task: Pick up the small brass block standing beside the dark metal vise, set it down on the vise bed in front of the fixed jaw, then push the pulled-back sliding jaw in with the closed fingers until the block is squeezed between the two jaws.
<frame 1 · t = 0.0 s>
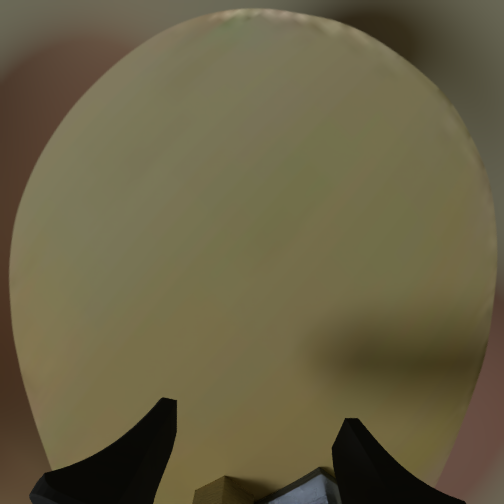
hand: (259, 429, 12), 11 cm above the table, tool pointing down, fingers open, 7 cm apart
brass block: (224, 492, 24), on the table
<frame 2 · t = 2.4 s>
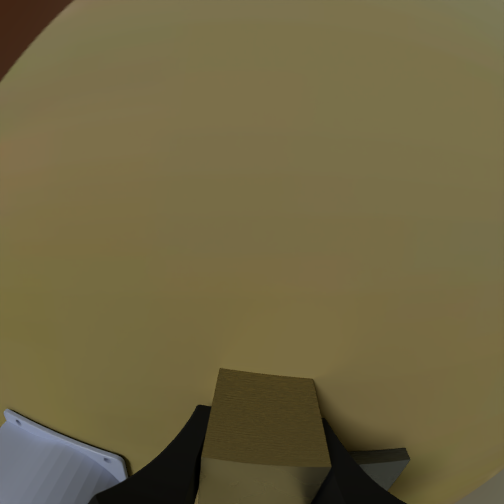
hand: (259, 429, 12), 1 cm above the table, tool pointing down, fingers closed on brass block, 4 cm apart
brass block: (259, 407, 13), on the table, touching gripper
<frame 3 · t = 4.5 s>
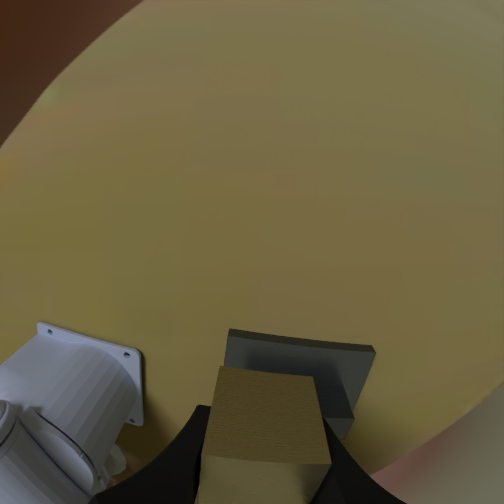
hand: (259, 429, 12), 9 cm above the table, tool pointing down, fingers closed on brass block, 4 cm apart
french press: (89, 451, 25), on the table
vise: (280, 422, 22), on the table
brass block: (259, 405, 13), point 7 cm above the table, touching gripper
when the fingers open (3 cm above the table, at t = 6.7 s): brass block stays where it is, resting on vise.
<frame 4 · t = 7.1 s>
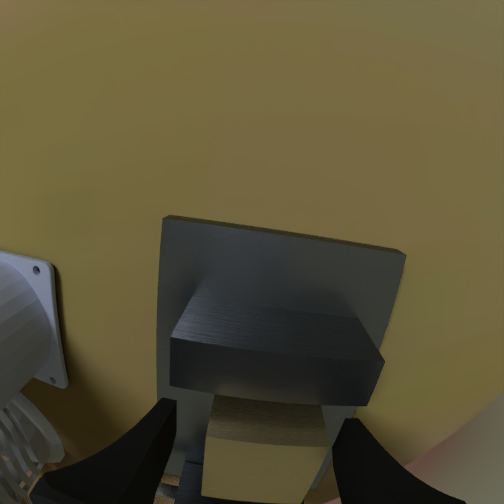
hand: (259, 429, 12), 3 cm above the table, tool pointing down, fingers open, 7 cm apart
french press: (24, 429, 18), on the table
sliding jaw: (199, 495, 14), point 3 cm above the table, slide at 0.0 cm
vise: (259, 388, 15), on the table
brass block: (260, 395, 14), point 1 cm above the table, touching vise
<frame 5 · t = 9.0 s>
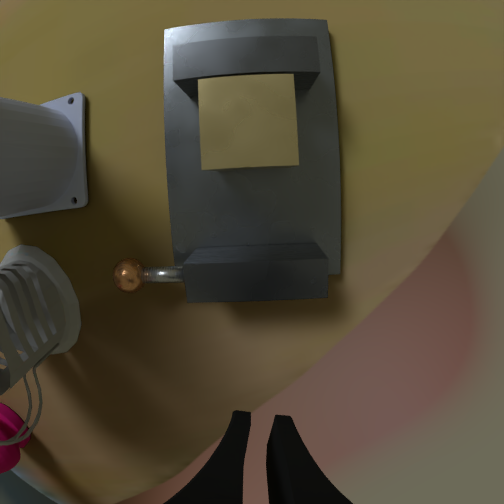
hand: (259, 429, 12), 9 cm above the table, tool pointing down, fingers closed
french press: (41, 310, 22), on the table
sliding jaw: (213, 272, 17), point 3 cm above the table, slide at 0.0 cm
pepper mill: (12, 420, 26), on the table
vise: (251, 142, 18), on the table
brass block: (251, 134, 17), point 1 cm above the table, touching vise
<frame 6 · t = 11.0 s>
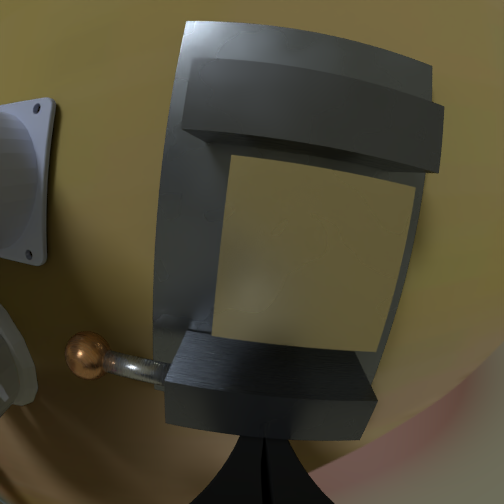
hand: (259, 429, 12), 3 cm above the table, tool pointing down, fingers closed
sliding jaw: (206, 379, 11), point 3 cm above the table, slide at 1.6 cm, touching gripper
vise: (288, 231, 13), on the table
brass block: (292, 226, 11), point 1 cm above the table, touching vise
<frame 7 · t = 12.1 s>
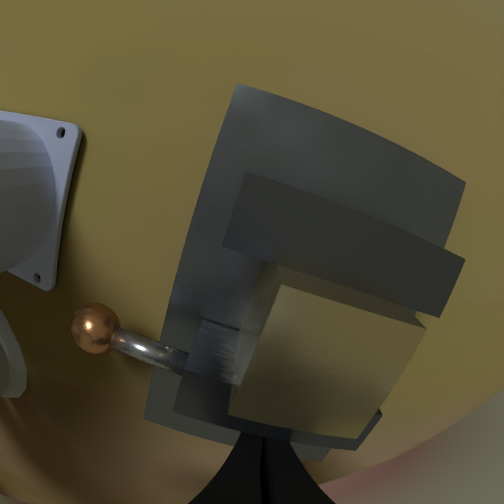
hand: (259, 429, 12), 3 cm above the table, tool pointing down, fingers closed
sliding jaw: (218, 372, 11), point 3 cm above the table, slide at 5.0 cm, touching brass block, gripper
vise: (291, 313, 13), on the table
brass block: (303, 301, 12), point 1 cm above the table, touching sliding jaw, vise
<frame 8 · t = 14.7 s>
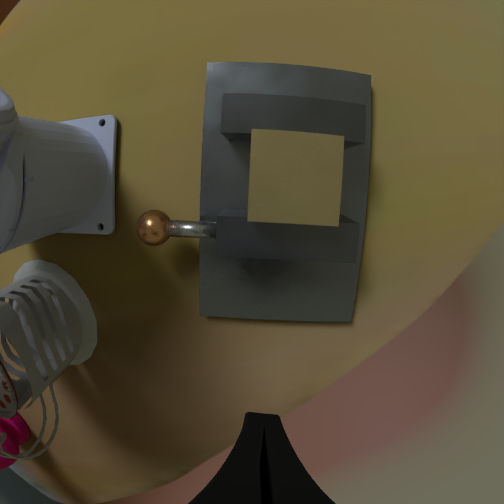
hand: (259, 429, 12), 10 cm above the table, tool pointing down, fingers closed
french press: (56, 324, 22), on the table
sliding jaw: (242, 231, 17), point 3 cm above the table, slide at 5.0 cm
pepper mill: (12, 418, 26), on the table
vise: (284, 192, 19), on the table
brass block: (287, 176, 18), point 1 cm above the table, touching vise
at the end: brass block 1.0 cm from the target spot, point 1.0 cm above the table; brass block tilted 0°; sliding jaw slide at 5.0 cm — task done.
